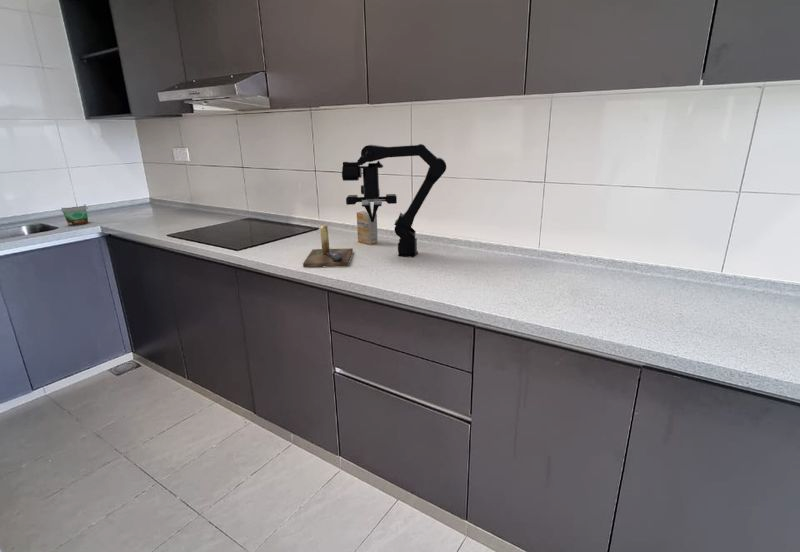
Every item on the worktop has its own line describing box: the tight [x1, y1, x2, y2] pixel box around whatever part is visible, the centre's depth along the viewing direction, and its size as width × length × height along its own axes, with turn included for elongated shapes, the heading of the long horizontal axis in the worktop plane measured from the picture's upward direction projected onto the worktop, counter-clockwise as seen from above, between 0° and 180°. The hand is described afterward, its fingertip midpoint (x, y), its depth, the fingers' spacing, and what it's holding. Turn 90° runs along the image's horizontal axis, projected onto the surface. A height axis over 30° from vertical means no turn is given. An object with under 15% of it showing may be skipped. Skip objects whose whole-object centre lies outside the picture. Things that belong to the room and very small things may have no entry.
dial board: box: [302, 247, 354, 268], centre depth 165 cm, size 16×19×2 cm
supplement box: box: [356, 210, 379, 245], centre depth 186 cm, size 8×5×13 cm, turn 45°
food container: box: [60, 204, 89, 227], centre depth 238 cm, size 12×6×10 cm, turn 148°
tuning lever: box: [319, 224, 342, 261], centre depth 162 cm, size 4×17×10 cm, turn 31°
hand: (372, 222), depth 166 cm, fingers closed
